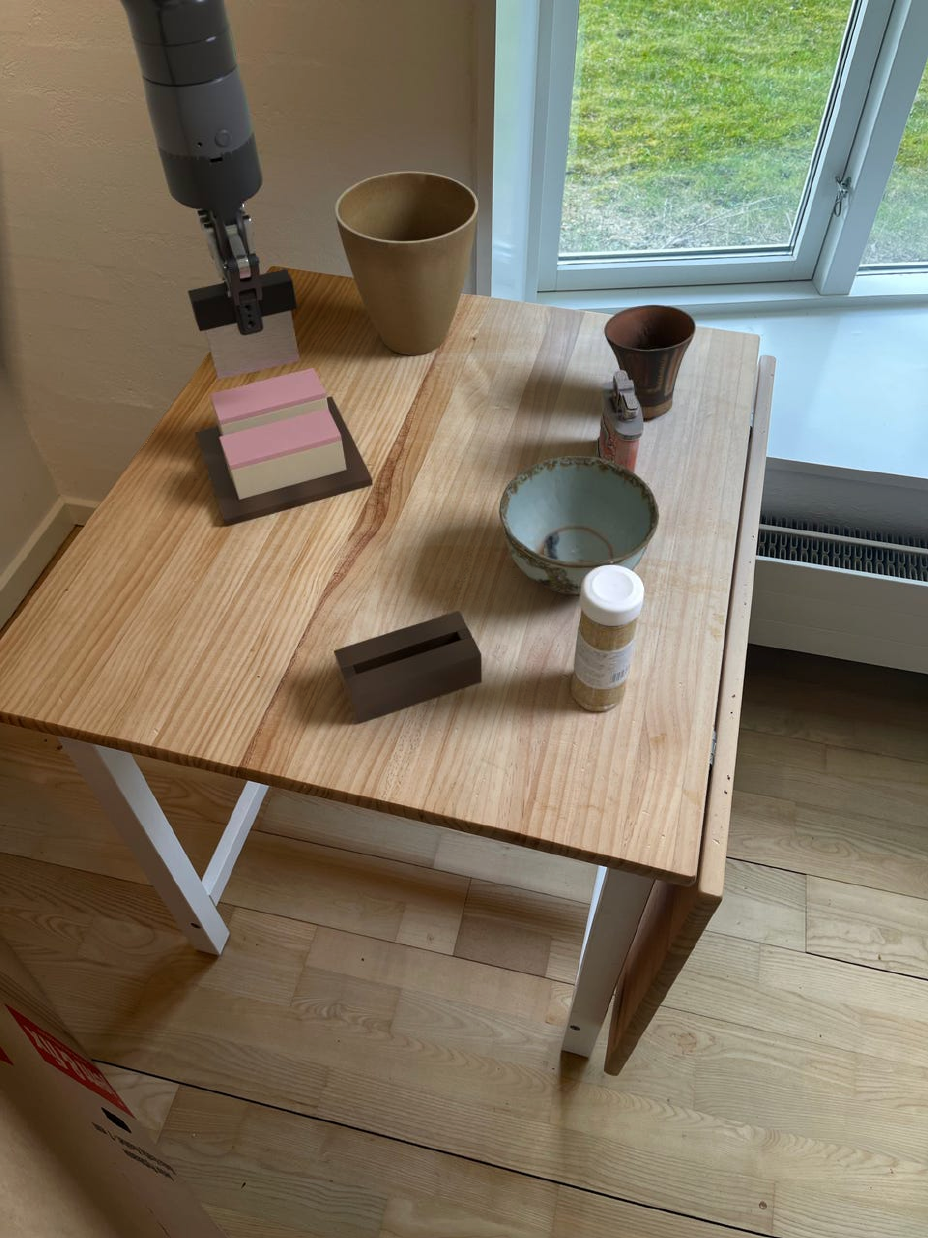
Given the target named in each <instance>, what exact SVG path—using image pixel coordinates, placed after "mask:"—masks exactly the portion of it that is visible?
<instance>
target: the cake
mask: <svg viewBox="0 0 928 1238" xmlns="http://www.w3.org/2000/svg"><path fill="white" fill-rule="evenodd" d="M219 439H220V442H221V445H222V449H223V452H224V456H225V459H226V463H227V466H228V469H229V473H230V475H231V478H232V481H233V484H234V487H235V490H236V492H237V495H238V498H239V500H241V499H244V498H248V497H251V496H255V495H258V494H262V493H266V492H269V491H273V490H276V489H280V488H283V487H287V486H291V485H294V484H298V483H301V482H305V481H308V480H312V479H316V478H319V477H323V476H326V475H330V474H333V473H337V472H341V471H344V470H346V464H345V458H344V452H343V445H342V439H341V435H340V432H339V430H338V428H337V426H336V424H335V422H334V420H333V418H332V416H331V414H330V412H329V410H328V408H327V409H323V410H319V411H315V412H312V413H308V414H304V415H300V416H296V417H293V418H289V419H285V420H281V421H278V422H274V423H270V424H266V425H262V426H259V427H255V428H251V429H247V430H243V431H240V432H236V433H232V434H228V435H225V436H221V437H219Z"/></svg>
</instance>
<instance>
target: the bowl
mask: <svg viewBox="0 0 928 1238" xmlns="http://www.w3.org/2000/svg"><path fill="white" fill-rule="evenodd" d="M498 514H499V520H500V523H501V525H502V528H503V532H504V538H505V541H506V544H507V547H508V550H509V552H510V555H511V557H512V558H513V560H514V561H515V563H516V564H517V566H518V567H519V568H520V569H521V571H522V572H523V573H524V574H525V575H526V576H527V577H528V578H530V579H531V580H532V581H533V582H535V583H536V584H539V585H540V586H542V587H545V588H546V589H549V590H552V591H554V592H557V593H562V594H567V595H580V591H581V585H582V581H583V579H584V577H585V576H586V575H587V574H588V573H589V572H590V571H591V570H593V569H595V568H597V567H600V566H604V565H618V566H622V567H625V568H628V569H629V570H631V571H633V570H634V569H635V568H636V567H637V566H638V564H639V563H640V561H641V560H642V558H643V556H644V555H645V553H646V552H647V549H648V546H649V544H650V542H651V540H652V538H653V537H654V535H655V533H656V532H657V528H658V526H659V520H660V512H659V506H658V503H657V500H656V498H655V495H654V493H653V491H652V490H651V488H650V487H649V486H648V484H647V483H646V482H645V481H644V480H643V479H642V478H641V477H640V476H639V475H637V474H636V473H635V474H634V473H633V472H631V471H630V470H629V469H627V468H625V467H623V466H621V465H618V464H616V463H614V462H611V461H608V460H604V459H601V458H597V457H594V456H584V455H565V456H558V457H553V458H552V457H551V458H549V459H545V460H542V461H539V462H536V463H534V464H532V465H530V466H528V467H525V468H524V469H523V470H521V471H520V472H518V473H517V474H516V475H515V476H514V477H513V478H512V479H511V480H510V481H509V483H508V484H507V485H506V487H505V489H504V491H503V492H502V495H501V498H500V501H499V509H498Z"/></svg>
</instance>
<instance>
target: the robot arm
mask: <svg viewBox="0 0 928 1238" xmlns="http://www.w3.org/2000/svg"><path fill="white" fill-rule="evenodd" d="M119 2H120V4H121V6H122V8H123V11H124V14H125V16H126V19H127V24H128V29H129V32H130V35H131V39H132V42H133V46H134V50H135V54H136V58H137V62H138V65H139V69H140V73H141V78H142V83H143V89H144V90H143V91H144V98H145V104H146V108H147V112H148V116H149V120H150V123H151V124H150V125H151V127H152V131H153V136H154V139H155V144H156V147H157V151H158V154H159V157H160V161H161V164H162V165H161V166H162V169H163V172H164V176H165V180H166V184H167V187H168V190H169V193H170V195H171V197H172V198H173V199H174V200H175V201H176V202H177V203H178V204H180V205H183V206H185V207H187V208H190V209H194V210H195V214H196V216H197V221H198V224H199V226H200V228H201V231H202V232H203V235H204V238H205V241H206V245H207V249H208V252H209V254H210V255H209V256H210V257H211V259H212V260H213V261H214V265H215V268H216V271H217V274H218V276H219V278H221V280H222V281H223V283H225V282H226V285H227V289H228V292H227V294H228V297H230V299H231V302H232V306H233V310H234V314H235V318H236V322H237V327H238V330H239V332H240V334H241V335H249V334H254V333H258V332H261V331H262V330H263V322H262V318H261V313H260V309H259V304H258V300H261V299H262V295H263V294H262V290H261V281H260V275H261V271H260V263H261V262H260V258H259V256H257V253H256V249H255V244H254V240H253V239H254V237H255V231H254V226H253V221H252V218H251V215H250V213H247V212H246V207H245V202H247V201H248V200H250V199H252V198H253V197H254V196H255V195H256V194H258V193H259V191H260V189H261V187H262V185H263V174H262V173H263V172H262V168H261V162H260V158H259V152H258V145H257V141H256V137H255V131H254V127H253V121H252V116H251V115H252V114H251V109H250V105H249V100H248V96H247V91H246V88H245V85H244V81H243V79H242V75H241V72H240V69H239V64H238V60H237V55H236V49H235V43H234V39H233V34H232V28H231V24H230V18H229V13H228V9H227V4H226V0H119Z"/></svg>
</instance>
